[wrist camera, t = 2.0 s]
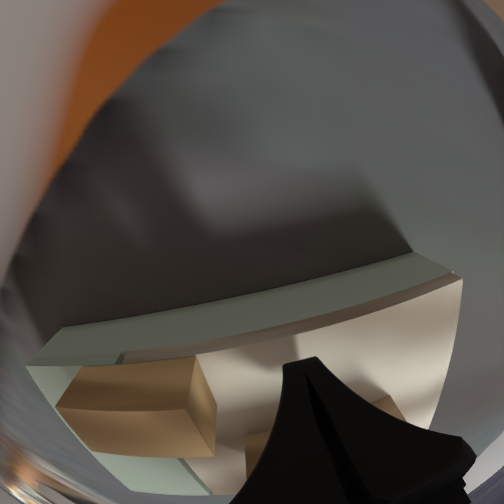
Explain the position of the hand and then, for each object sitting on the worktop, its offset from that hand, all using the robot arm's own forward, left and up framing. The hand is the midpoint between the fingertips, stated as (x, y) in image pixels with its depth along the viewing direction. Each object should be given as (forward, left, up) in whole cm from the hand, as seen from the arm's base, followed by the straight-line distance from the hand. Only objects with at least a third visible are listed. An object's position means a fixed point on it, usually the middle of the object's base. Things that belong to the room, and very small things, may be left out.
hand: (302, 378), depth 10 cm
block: (0, +7, -1) cm, 7 cm away
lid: (-6, -1, -2) cm, 6 cm away
